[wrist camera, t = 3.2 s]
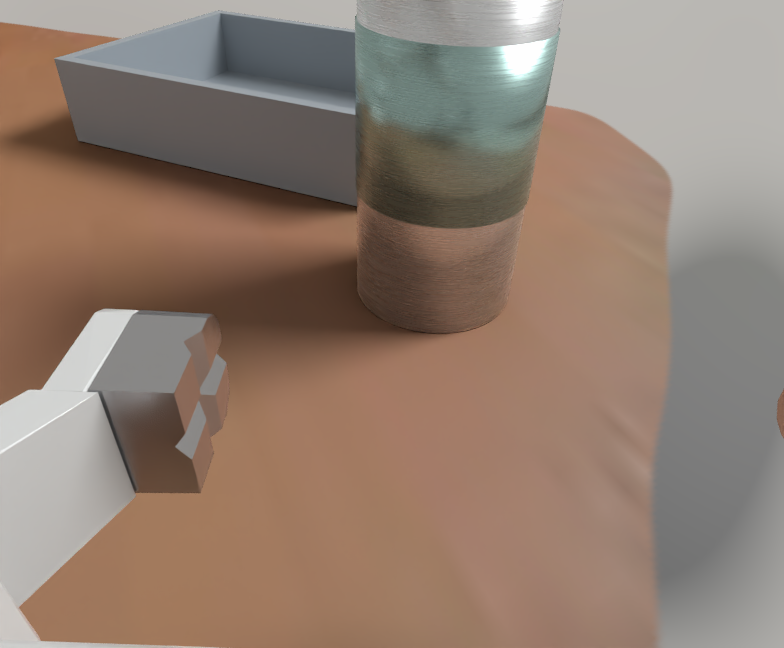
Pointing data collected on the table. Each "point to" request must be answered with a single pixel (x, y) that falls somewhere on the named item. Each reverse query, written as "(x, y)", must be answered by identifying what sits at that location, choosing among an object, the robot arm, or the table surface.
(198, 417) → the robot arm
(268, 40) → the tote
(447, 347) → the table surface
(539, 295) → the table surface
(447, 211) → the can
